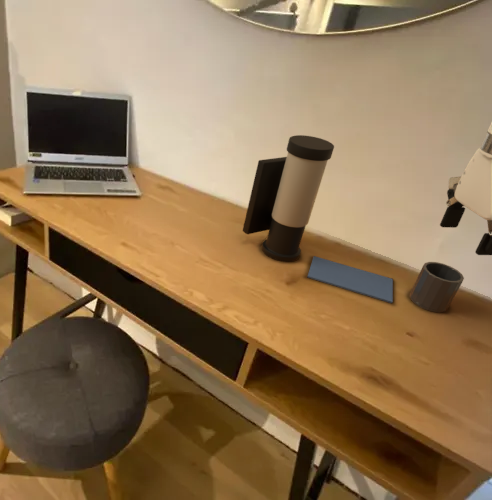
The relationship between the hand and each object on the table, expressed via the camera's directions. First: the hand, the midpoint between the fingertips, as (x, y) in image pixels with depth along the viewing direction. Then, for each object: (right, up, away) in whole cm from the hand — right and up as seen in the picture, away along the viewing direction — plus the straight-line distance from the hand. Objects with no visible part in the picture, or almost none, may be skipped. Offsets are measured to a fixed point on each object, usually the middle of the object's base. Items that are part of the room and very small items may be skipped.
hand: (465, 239), depth 85 cm
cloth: (-15, -8, +12) cm, 21 cm away
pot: (-2, -12, +7) cm, 14 cm away
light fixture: (-28, -2, +20) cm, 35 cm away
